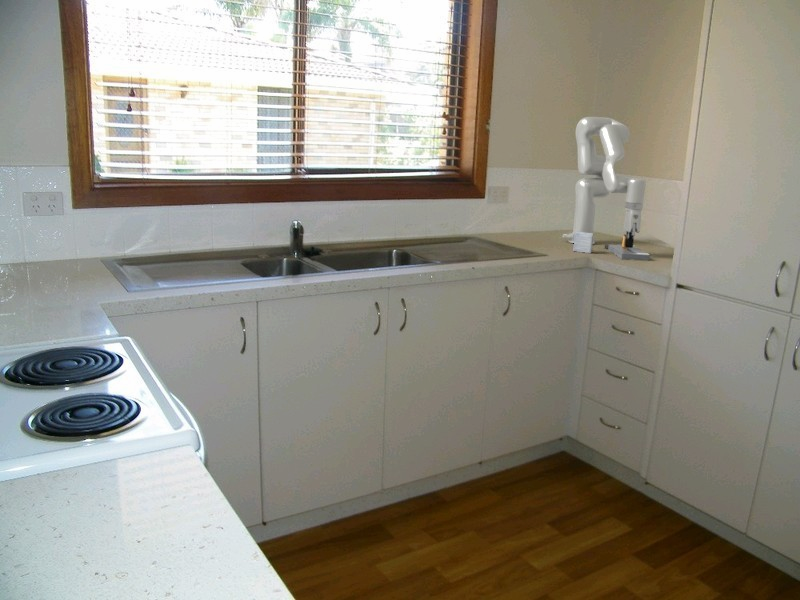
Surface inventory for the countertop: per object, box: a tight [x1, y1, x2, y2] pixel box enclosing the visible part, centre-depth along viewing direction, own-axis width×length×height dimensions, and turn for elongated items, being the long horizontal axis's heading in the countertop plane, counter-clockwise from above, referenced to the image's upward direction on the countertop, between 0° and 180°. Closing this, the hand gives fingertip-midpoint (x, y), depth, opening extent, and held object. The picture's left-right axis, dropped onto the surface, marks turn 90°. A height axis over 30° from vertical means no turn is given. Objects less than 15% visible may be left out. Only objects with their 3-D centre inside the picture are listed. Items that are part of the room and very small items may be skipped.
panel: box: [607, 244, 651, 261], centre depth 318 cm, size 12×24×3 cm, turn 178°
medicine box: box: [572, 232, 595, 254], centre depth 319 cm, size 8×4×9 cm, turn 65°
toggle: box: [621, 233, 628, 250], centre depth 321 cm, size 3×2×8 cm
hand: (628, 247), depth 317 cm, fingers closed
